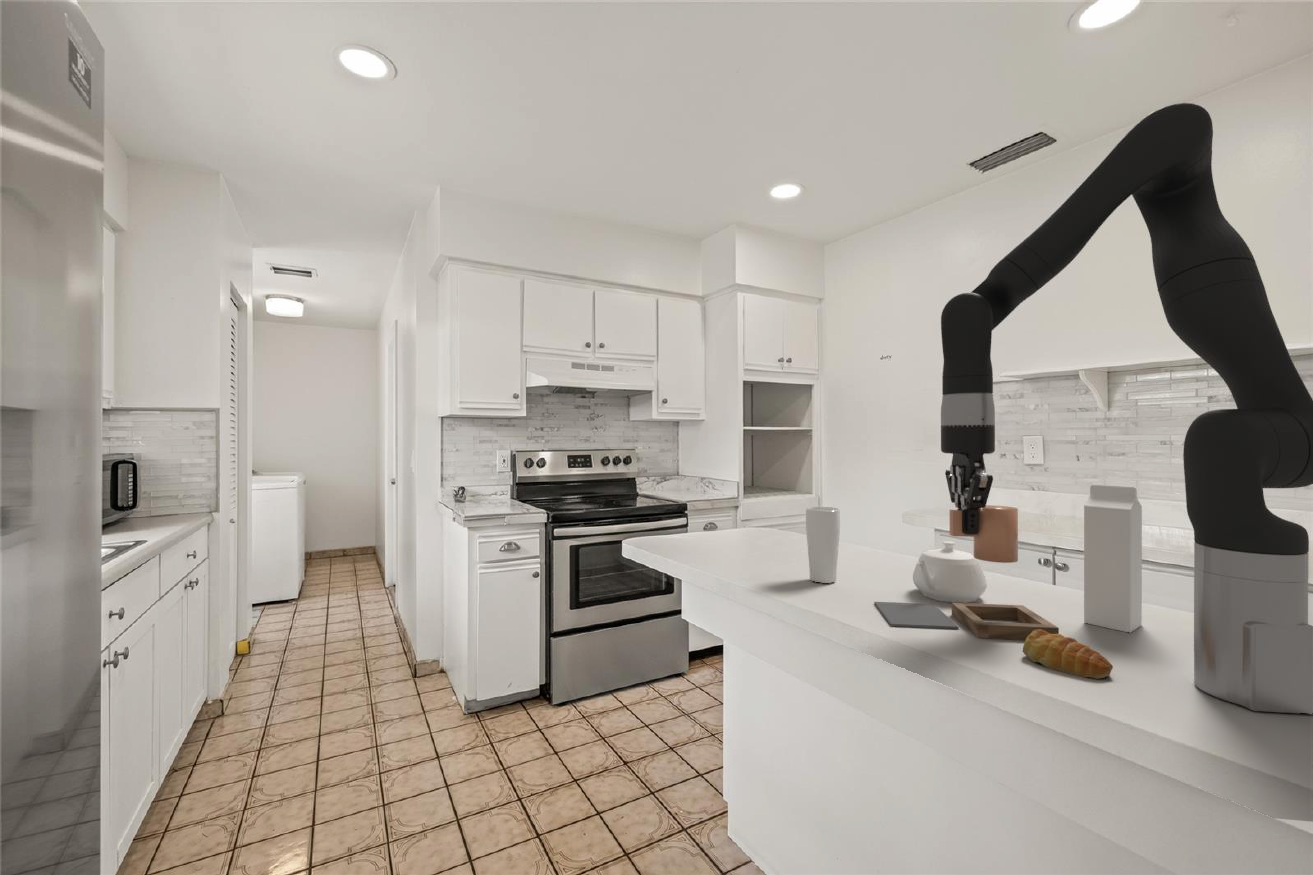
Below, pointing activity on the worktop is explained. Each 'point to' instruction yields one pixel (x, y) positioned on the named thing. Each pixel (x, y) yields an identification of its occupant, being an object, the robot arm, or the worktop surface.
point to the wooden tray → (975, 613)
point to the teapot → (949, 575)
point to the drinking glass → (823, 542)
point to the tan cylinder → (992, 533)
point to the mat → (915, 615)
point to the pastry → (1065, 655)
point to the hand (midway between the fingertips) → (967, 532)
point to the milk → (1113, 558)
